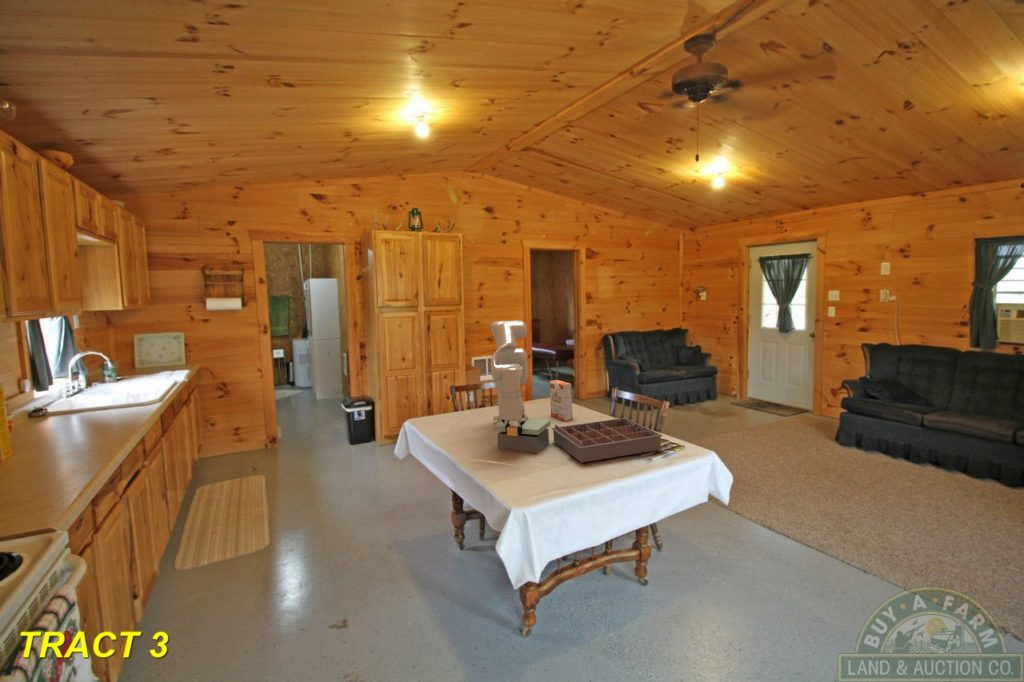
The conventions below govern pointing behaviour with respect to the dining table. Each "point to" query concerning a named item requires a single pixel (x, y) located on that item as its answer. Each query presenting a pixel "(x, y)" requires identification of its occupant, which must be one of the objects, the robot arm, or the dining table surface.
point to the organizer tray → (606, 439)
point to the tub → (523, 442)
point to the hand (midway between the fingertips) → (514, 433)
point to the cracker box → (561, 400)
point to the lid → (524, 427)
